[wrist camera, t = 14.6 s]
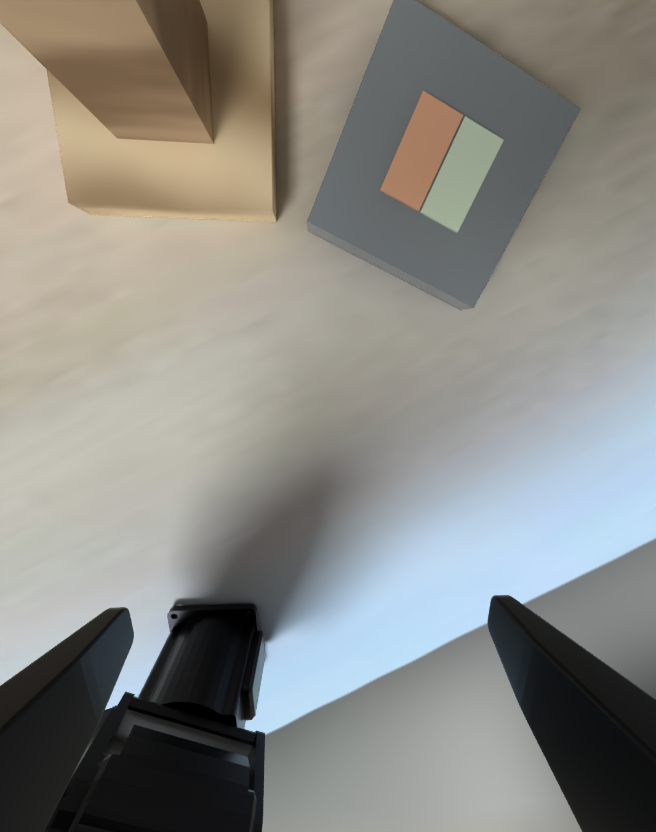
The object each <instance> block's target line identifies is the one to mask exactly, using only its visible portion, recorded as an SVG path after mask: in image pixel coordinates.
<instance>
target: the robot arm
mask: <svg viewBox="0 0 656 832" xmlns="http://www.w3.org/2000/svg"><path fill="white" fill-rule="evenodd" d="M248 611H251V612H248ZM167 617H168V623H169V628H170V634H169V636H168V638H167V640H166V642H165V644H164V646H163V648H162V650H161V652H160V654H159V656H158V658H157V660H156V662H155V664H154V666H153V668H152V670H151V672H150V674H149V676H148V678H147V680H146V682H145V684H144V686H143V688H142V690H141V692H140V694H139V696H138V697H134V695H135V694H132V693H129V692H125V693H124V695H123V697H122V699H121V700H120V702H119V704H118V706H115V707H114V706H113V708H110V709H106V710H105V708H106V705H107V703H108V701H109V698H110V696H111V693H112V691H113V689H114V686H115V684H116V682H117V679H118V677H119V674H120V672H121V670H122V667H123V665H124V662H125V660H126V658H127V655H128V653H129V651H130V648H131V646H132V643H133V638H134V632H133V627H132V622H131V618H130V613H129V610H128V609H127V608H125V607H120V608H109V609H107V610H105V611H104V612H102V613H101V614H100V615H98V616H97V617H95V618H94V619H93V620H91V621H90V622H88V623H87V624H86V625H84V626H83V627H82V628H80V629H79V630H77V631H76V632H75V633H73V634H72V635H70V636H69V637H68V638H66V639H65V640H63V641H62V642H61V643H59V644H58V645H57V646H55V647H54V648H52V649H51V650H50V651H48V652H47V653H45V654H44V655H43V656H41V657H40V658H38V659H37V660H36V661H34V662H33V663H31V664H30V665H29V666H27V667H26V668H25V669H23V670H22V671H20V672H19V673H18V674H16V675H15V676H13V677H12V678H11V679H9V680H8V681H6V682H5V683H4V684H2V685H1V686H0V832H262V823H263V795H264V751H265V750H264V748H265V733H263V732H259V731H256V732H252V731H249V730H245V729H244V727H245V722H246V720H252V719H253V718H254V716H255V714H256V708H257V702H258V696H259V690H260V684H261V678H262V672H263V666H264V660H265V650H264V638H263V632H262V631H261V630H259V628H258V616H257V608H256V606H255V605H253V604H232V605H201V606H175V607H172V608H171V609H170V611H169V613H168V616H167ZM488 628H489V632H490V635H491V637H492V639H493V642H494V644H495V647H496V649H497V652H498V654H499V657H500V659H501V662H502V664H503V667H504V669H505V672H506V674H507V676H508V679H509V681H510V684H511V686H512V689H513V691H514V694H515V696H516V698H517V701H518V703H519V705H520V707H521V710H522V711H523V714H524V716H525V718H526V720H527V722H528V724H529V726H530V728H531V730H532V732H533V734H534V736H535V738H536V740H537V742H538V744H539V746H540V748H541V750H542V752H543V754H544V756H545V758H546V760H547V762H548V764H549V766H550V768H551V770H552V772H553V774H554V776H555V778H556V780H557V782H558V784H559V786H560V788H561V790H562V792H563V794H564V796H565V798H566V800H567V802H568V804H569V806H570V808H571V810H572V812H573V814H574V816H575V818H576V820H577V822H578V824H579V826H580V828H581V830H582V832H656V699H654V698H653V697H652V696H650V695H649V694H647V693H646V692H645V691H643V690H642V689H640V688H639V687H638V686H636V685H635V684H633V683H632V682H631V681H629V680H628V679H626V678H625V677H624V676H622V675H621V674H619V673H618V672H617V671H615V670H614V669H612V668H611V667H610V666H608V665H607V664H605V663H604V662H603V661H601V660H600V659H598V658H597V657H595V656H594V655H593V654H591V653H590V652H589V651H587V650H586V649H584V648H583V647H582V646H580V645H579V644H577V643H576V642H575V641H573V640H572V639H570V638H569V637H567V636H566V635H565V634H563V633H562V632H561V631H559V630H558V629H556V628H555V627H553V626H552V625H551V624H549V623H548V622H547V621H545V620H543V619H542V618H541V617H540V616H538V615H537V614H535V613H534V612H533V611H531V610H530V609H528V608H527V607H526V606H524V605H523V604H521V603H520V602H519V601H517V600H516V599H514V598H513V597H511V596H509V595H495V596H493V597H492V598H491V602H490V609H489V615H488Z"/></svg>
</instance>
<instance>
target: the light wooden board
mask: <svg viewBox="0 0 656 832" xmlns="http://www.w3.org/2000/svg"><path fill="white" fill-rule="evenodd" d="M200 3H201V6H202V9H203V11H204V14H205V17H206V20H207V23H208V42H209V61H210V80H211V99H212V118H213V137H214V144H206V143H188V142H170V141H151V140H133V139H117V138H116V137H115V136H114V135H113V134H112V133H111V132H110V131H109V130H108V129H107V128H106V127H105V126H104V125H103V124H102V123H101V122H100V121H99V120H98V119H97V118H96V117H95V116H94V115H93V114H92V113H91V112H90V111H89V110H88V109H87V108H86V107H85V106H84V105H83V104H82V103H81V102H80V101H79V100H78V99H77V98H76V97H75V96H74V95H73V94H72V93H71V92H70V91H69V90H68V89H67V88H66V87H65V86H64V85H63V84H61V83H60V82H59V81H58V80H57V79H56V78H55V77H54V76H53V75H52V74H51V73H50V72H49V71H48V70H47V75H48V81H49V87H50V93H51V99H52V106H53V112H54V118H55V124H56V130H57V136H58V142H59V148H60V155H61V161H62V167H63V173H64V179H65V185H66V191H67V197H68V203H70V204H72V205H74V206H75V207H77V208H79V209H81V210H83V211H85V212H87V213H89V214H91V215H116V216H140V217H165V218H190V219H214V220H239V221H264V222H277V221H276V149H275V78H274V7H273V0H200Z"/></svg>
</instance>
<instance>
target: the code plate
mask: <svg viewBox="0 0 656 832" xmlns="http://www.w3.org/2000/svg"><path fill="white" fill-rule="evenodd" d="M580 109H581V108H580V107H578V106H577V105H575V104H573V103H572V102H570V101H569V100H567V99H566V98H564V97H563V96H561V95H560V94H558V93H557V92H555V91H554V90H552V89H551V88H549V87H548V86H546V85H545V84H543V83H542V82H540V81H539V80H537V79H535V78H534V77H532V76H531V75H529V74H528V73H526V72H525V71H523V70H522V69H520V68H519V67H517V66H516V65H514V64H513V63H511V62H510V61H508V60H507V59H505V58H504V57H502V56H500V55H499V54H497V53H496V52H494V51H493V50H491V49H490V48H488V47H487V46H485V45H484V44H482V43H481V42H479V41H478V40H476V39H475V38H473V37H472V36H470V35H469V34H467V33H465V32H464V31H462V30H461V29H459V28H458V27H456V26H455V25H453V24H452V23H450V22H449V21H447V20H446V19H444V18H443V17H441V16H440V15H438V14H437V13H435V12H434V11H432V10H431V9H429V8H427V7H426V6H424V5H423V4H421V3H420V2H418V1H417V0H394V1H393V3H392V6H391V9H390V11H389V14H388V16H387V19H386V21H385V24H384V26H383V29H382V32H381V34H380V37H379V39H378V42H377V44H376V47H375V49H374V52H373V55H372V57H371V60H370V62H369V65H368V67H367V70H366V72H365V75H364V78H363V80H362V83H361V85H360V88H359V90H358V93H357V95H356V98H355V101H354V103H353V106H352V108H351V111H350V113H349V116H348V118H347V121H346V124H345V126H344V129H343V131H342V134H341V136H340V139H339V141H338V144H337V147H336V149H335V152H334V154H333V157H332V159H331V162H330V164H329V167H328V170H327V172H326V175H325V177H324V180H323V182H322V185H321V187H320V190H319V193H318V195H317V198H316V200H315V203H314V205H313V208H312V210H311V213H310V215H309V218H308V221H307V224H308V231H309V232H311V233H313V234H315V235H317V236H319V237H321V238H322V239H324V240H326V241H328V242H330V243H332V244H334V245H336V246H338V247H340V248H342V249H344V250H346V251H348V252H350V253H352V254H353V255H355V256H357V257H359V258H361V259H363V260H365V261H367V262H369V263H371V264H373V265H375V266H377V267H379V268H381V269H383V270H384V271H386V272H388V273H390V274H392V275H394V276H396V277H398V278H400V279H402V280H404V281H406V282H408V283H410V284H412V285H414V286H415V287H417V288H419V289H421V290H423V291H425V292H427V293H429V294H431V295H433V296H435V297H437V298H439V299H441V300H443V301H445V302H446V303H448V304H450V305H452V306H454V307H456V308H458V309H460V310H465V309H470V308H474V306H475V304H476V302H477V300H478V299H479V297H480V295H481V293H482V291H483V289H484V287H485V286H486V284H487V282H488V280H489V278H490V276H491V274H492V273H493V271H494V269H495V267H496V265H497V263H498V261H499V260H500V258H501V256H502V254H503V252H504V250H505V248H506V247H507V245H508V243H509V241H510V239H511V237H512V235H513V234H514V232H515V230H516V228H517V226H518V224H519V222H520V221H521V219H522V217H523V215H524V213H525V211H526V209H527V208H528V206H529V204H530V202H531V200H532V198H533V196H534V195H535V193H536V191H537V189H538V187H539V185H540V184H541V182H542V180H543V178H544V176H545V174H546V172H547V171H548V169H549V167H550V165H551V163H552V161H553V159H554V158H555V156H556V154H557V152H558V150H559V148H560V146H561V145H562V143H563V141H564V139H565V137H566V135H567V133H568V132H569V130H570V128H571V126H572V124H573V122H574V120H575V119H576V117H577V115H578V113H579V111H580Z"/></svg>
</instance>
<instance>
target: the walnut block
mask: <svg viewBox="0 0 656 832" xmlns="http://www.w3.org/2000/svg"><path fill="white" fill-rule="evenodd" d="M0 23H1V24H2V25H3V26H4V27H5V28H6V29H7V30H8V31H9V32H10V33H11V34H12V35H13V36H14V37H15V38H16V39H17V40H18V41H19V42H20V43H21V44H22V45H23V46H24V47H25V48H26V49H27V50H28V51H29V52H30V53H31V54H32V55H33V56H34V57H35V58H36V59H37V60H38V61H39V62H40V63H41V64H42V65H43V66H44V67H45V68H46V69H47V70H48V71H49V72H50V73H51V74H52V75H53V76H54V77H55V78H56V79H57V80H58V81H59V82H60V83H61V84H63V85H64V86H65V87H66V88H67V89H68V90H69V91H70V92H71V93H72V94H73V95H74V96H75V97H76V98H77V99H78V100H79V101H80V102H81V103H82V104H83V105H84V106H85V107H86V108H87V109H88V110H89V111H90V112H91V113H92V114H93V115H94V116H95V117H96V118H97V119H98V120H99V121H100V122H101V123H102V124H103V125H104V126H105V127H106V128H107V129H108V130H109V131H110V132H111V133H112V134H113V135H114V136H115V137H116V138H117V139H133V140H151V141H170V142H188V143H206V144H214V137H213V118H212V99H211V80H210V61H209V42H208V23H207V20H206V17H205V14H204V11H203V9H202V6H201V3H200V0H0Z"/></svg>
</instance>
